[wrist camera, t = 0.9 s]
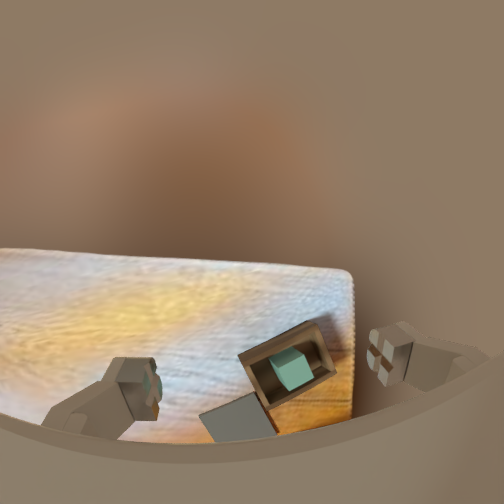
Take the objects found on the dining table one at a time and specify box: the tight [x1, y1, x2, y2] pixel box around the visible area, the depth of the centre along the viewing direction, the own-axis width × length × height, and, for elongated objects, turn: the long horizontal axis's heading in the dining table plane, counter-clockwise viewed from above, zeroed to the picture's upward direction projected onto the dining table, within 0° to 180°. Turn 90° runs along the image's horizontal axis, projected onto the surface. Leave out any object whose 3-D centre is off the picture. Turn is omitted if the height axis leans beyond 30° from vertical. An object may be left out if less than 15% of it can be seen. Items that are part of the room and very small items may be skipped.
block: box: [269, 346, 314, 391], centre depth 48 cm, size 5×5×7 cm
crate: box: [238, 321, 337, 411], centre depth 49 cm, size 11×15×6 cm
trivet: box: [199, 392, 277, 442], centre depth 49 cm, size 12×12×1 cm
